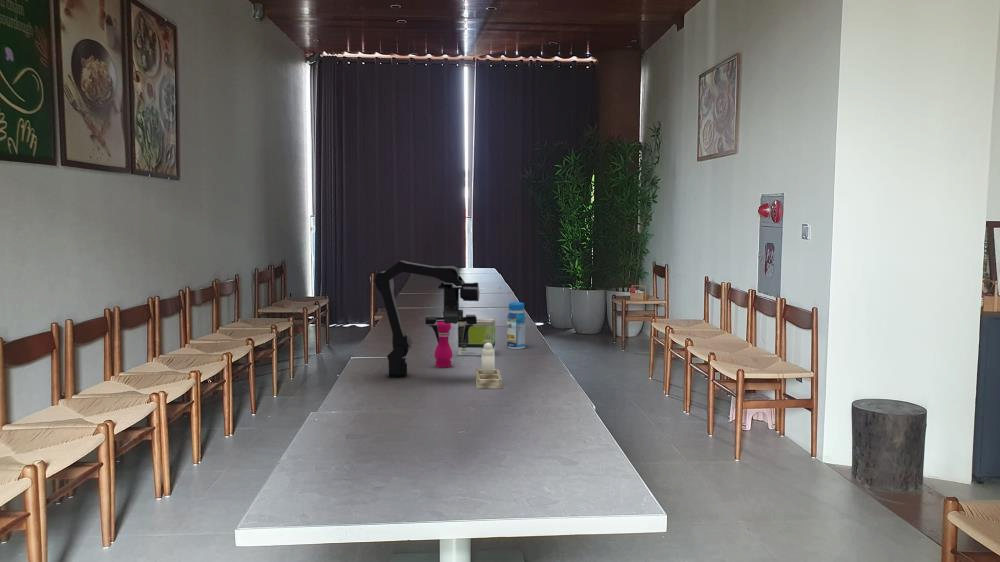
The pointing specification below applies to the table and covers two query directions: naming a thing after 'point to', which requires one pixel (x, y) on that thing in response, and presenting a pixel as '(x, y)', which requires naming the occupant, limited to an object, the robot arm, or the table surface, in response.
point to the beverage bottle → (516, 326)
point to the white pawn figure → (488, 359)
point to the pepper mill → (443, 346)
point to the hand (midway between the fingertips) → (451, 342)
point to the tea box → (476, 337)
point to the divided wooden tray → (488, 380)
